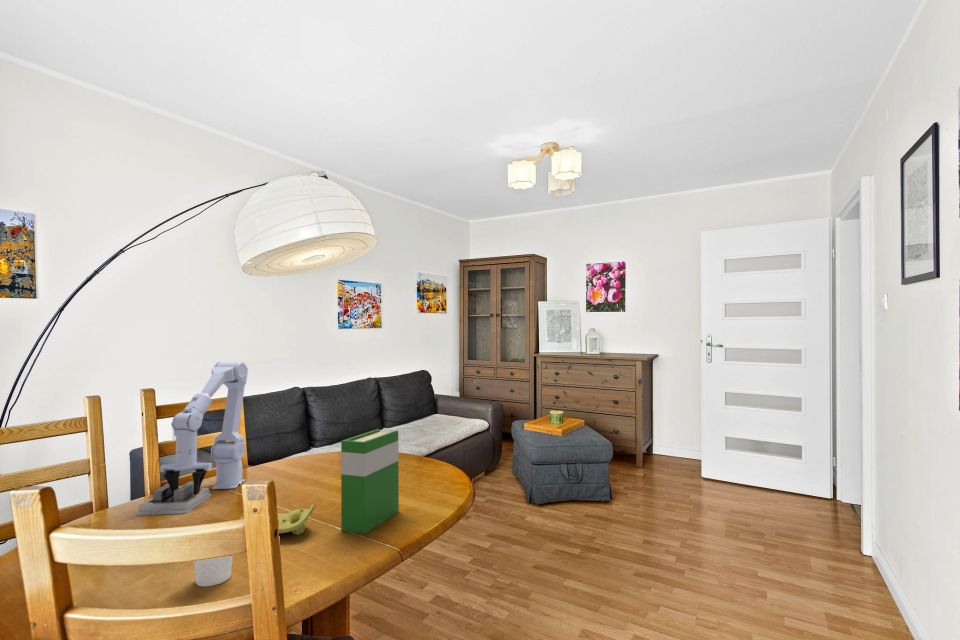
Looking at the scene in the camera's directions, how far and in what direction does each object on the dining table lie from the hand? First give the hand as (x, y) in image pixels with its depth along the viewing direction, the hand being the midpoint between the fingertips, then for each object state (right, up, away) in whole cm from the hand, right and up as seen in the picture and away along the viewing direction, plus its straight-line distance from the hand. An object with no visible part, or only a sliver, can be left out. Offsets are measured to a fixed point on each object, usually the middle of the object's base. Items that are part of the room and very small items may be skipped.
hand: (185, 494), depth 152 cm
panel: (0, -2, 0) cm, 2 cm away
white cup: (+35, -1, -48) cm, 59 cm away
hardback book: (+62, -2, -15) cm, 64 cm away
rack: (-3, -3, 0) cm, 4 cm away
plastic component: (+38, -3, -23) cm, 45 cm away
